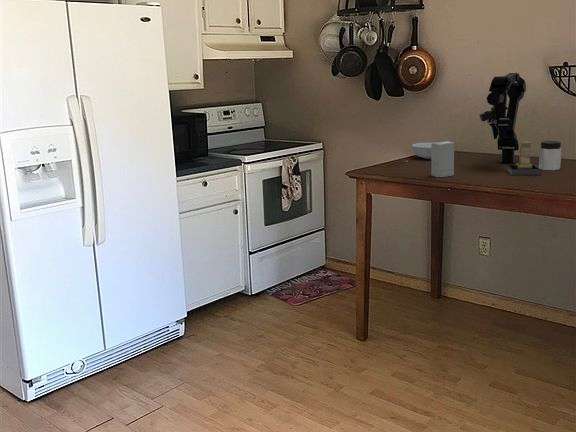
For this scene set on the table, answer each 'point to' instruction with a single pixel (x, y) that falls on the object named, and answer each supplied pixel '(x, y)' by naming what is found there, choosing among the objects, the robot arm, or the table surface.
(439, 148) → the skincare box
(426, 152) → the serving bowl
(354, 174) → the table surface
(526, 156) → the tan square peg
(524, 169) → the gray square tray
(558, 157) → the jar
